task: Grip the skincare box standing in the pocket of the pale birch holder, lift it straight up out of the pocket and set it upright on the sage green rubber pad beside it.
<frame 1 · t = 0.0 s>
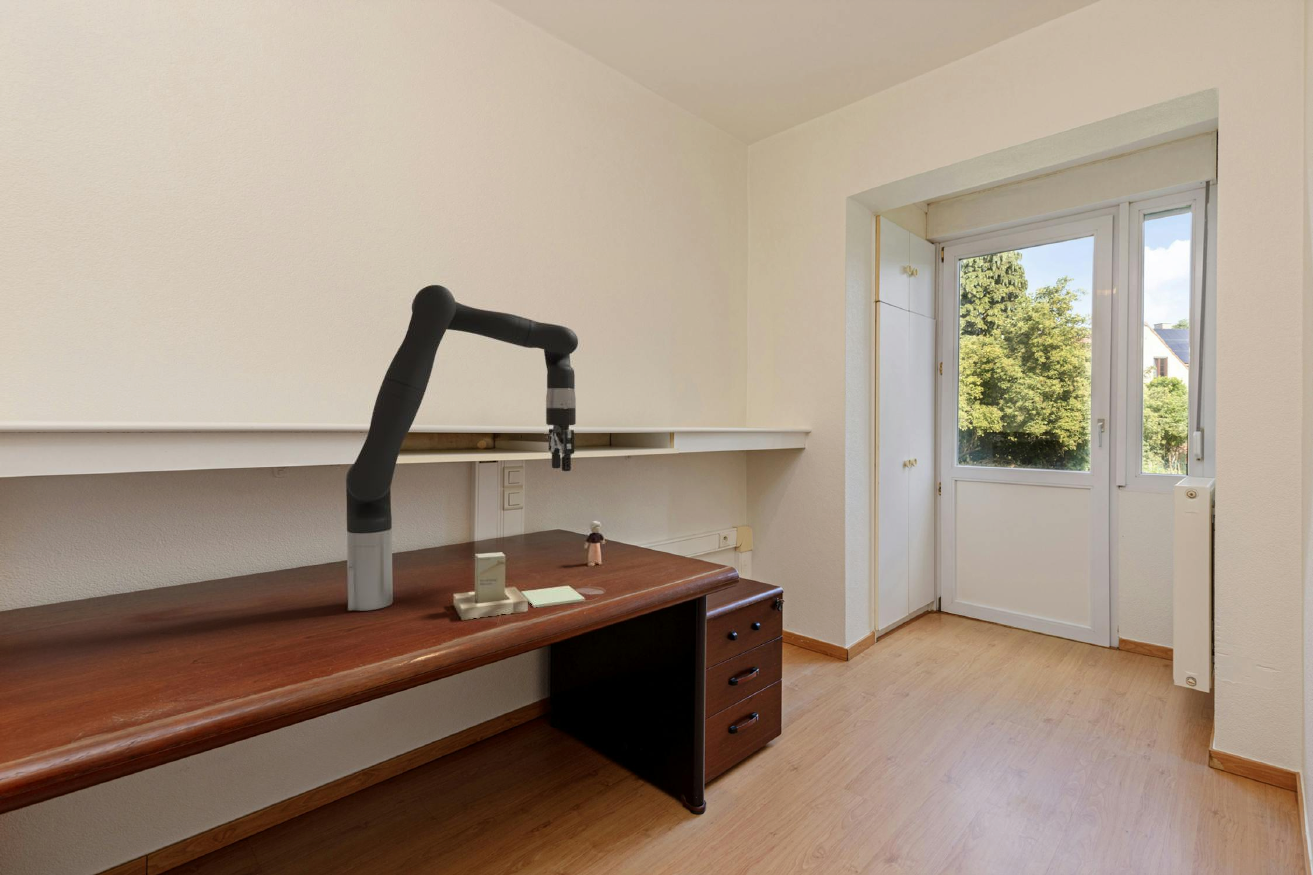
hand: (561, 469, 161), 29 cm above the table, tool pointing down, fingers open, 8 cm apart
grandmother figurine: (595, 564, 182), on the table
pocket holder: (490, 608, 140), on the table
skincare box: (490, 609, 140), resting in pocket holder
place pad: (552, 597, 148), on the table
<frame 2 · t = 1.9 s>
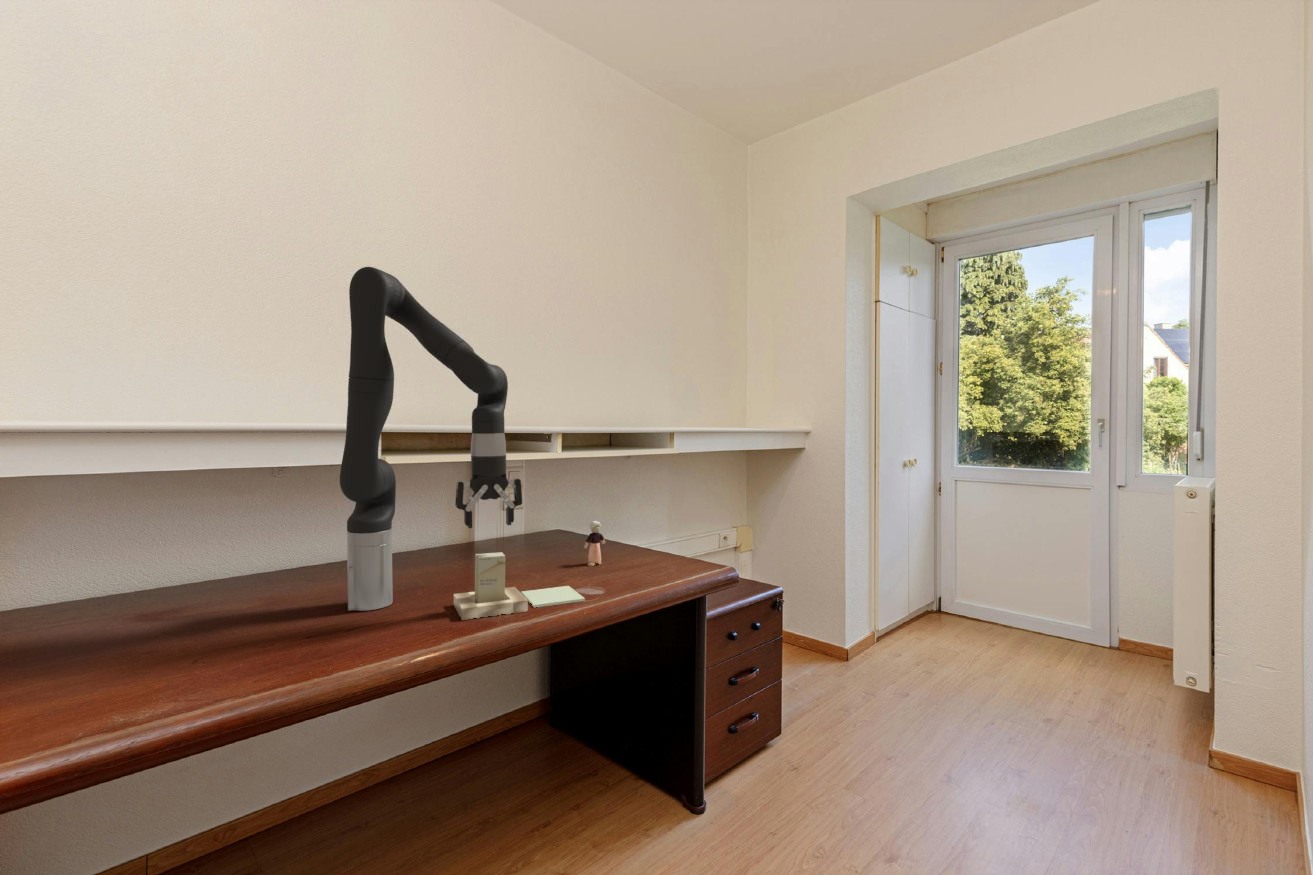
hand: (489, 526, 139), 18 cm above the table, tool pointing down, fingers open, 8 cm apart
nothing on the table moved.
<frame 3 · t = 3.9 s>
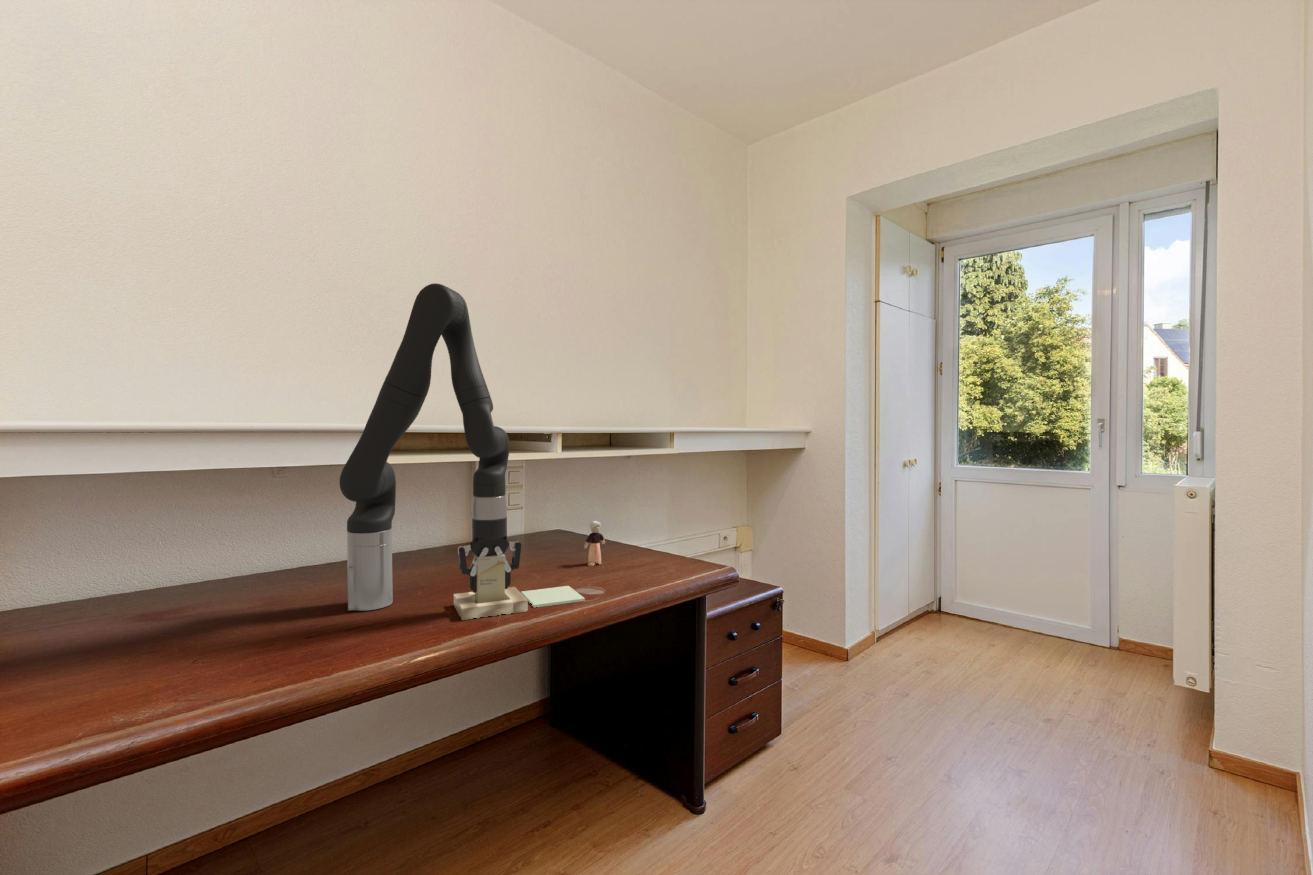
hand: (490, 589, 140), 4 cm above the table, tool pointing down, fingers closed on skincare box, 6 cm apart
skincare box: (490, 609, 140), resting in pocket holder, touching gripper
everything else where it was.
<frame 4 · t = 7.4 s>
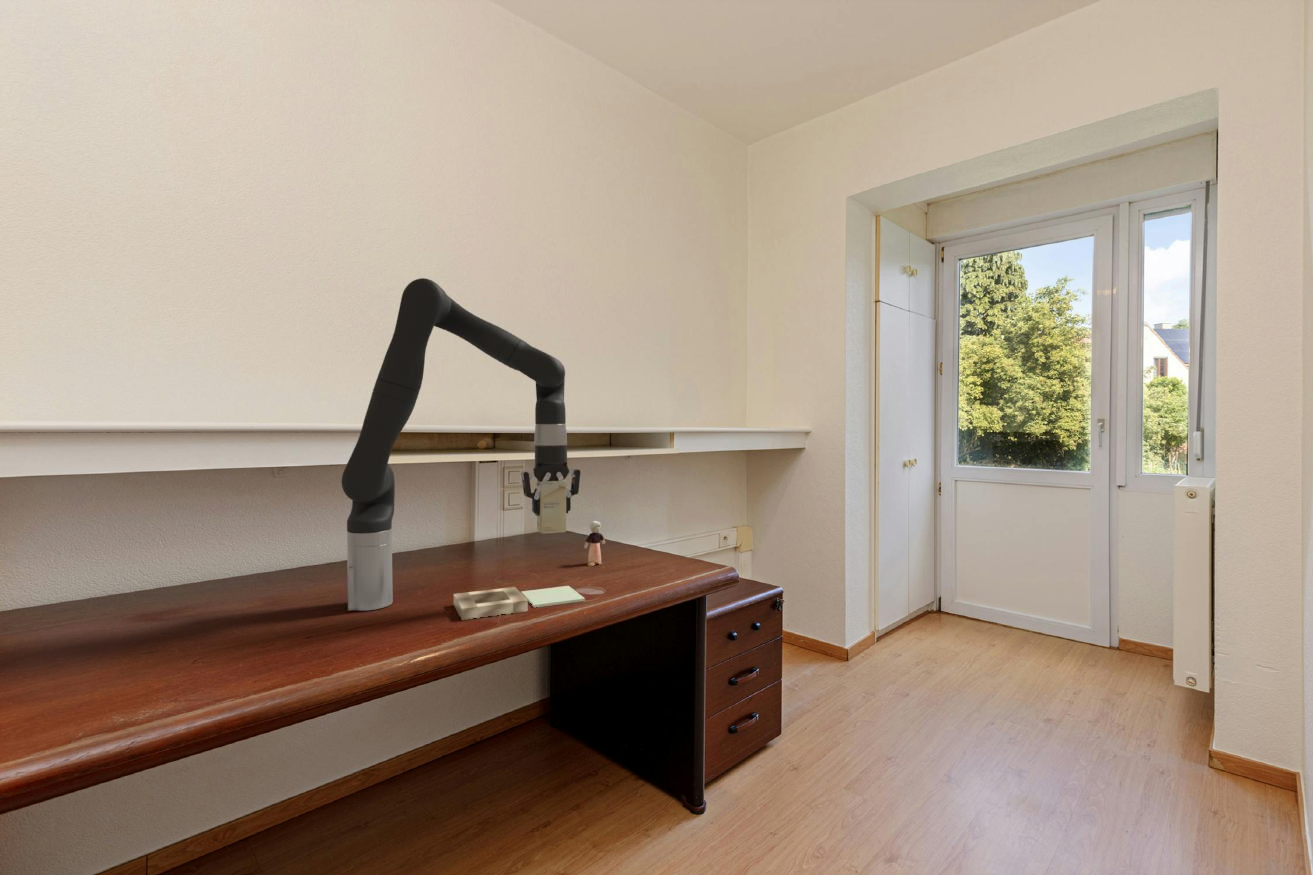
hand: (551, 513, 147), 20 cm above the table, tool pointing down, fingers closed on skincare box, 6 cm apart
skincare box: (551, 532, 147), point 16 cm above the table, touching gripper
everything else where it was.
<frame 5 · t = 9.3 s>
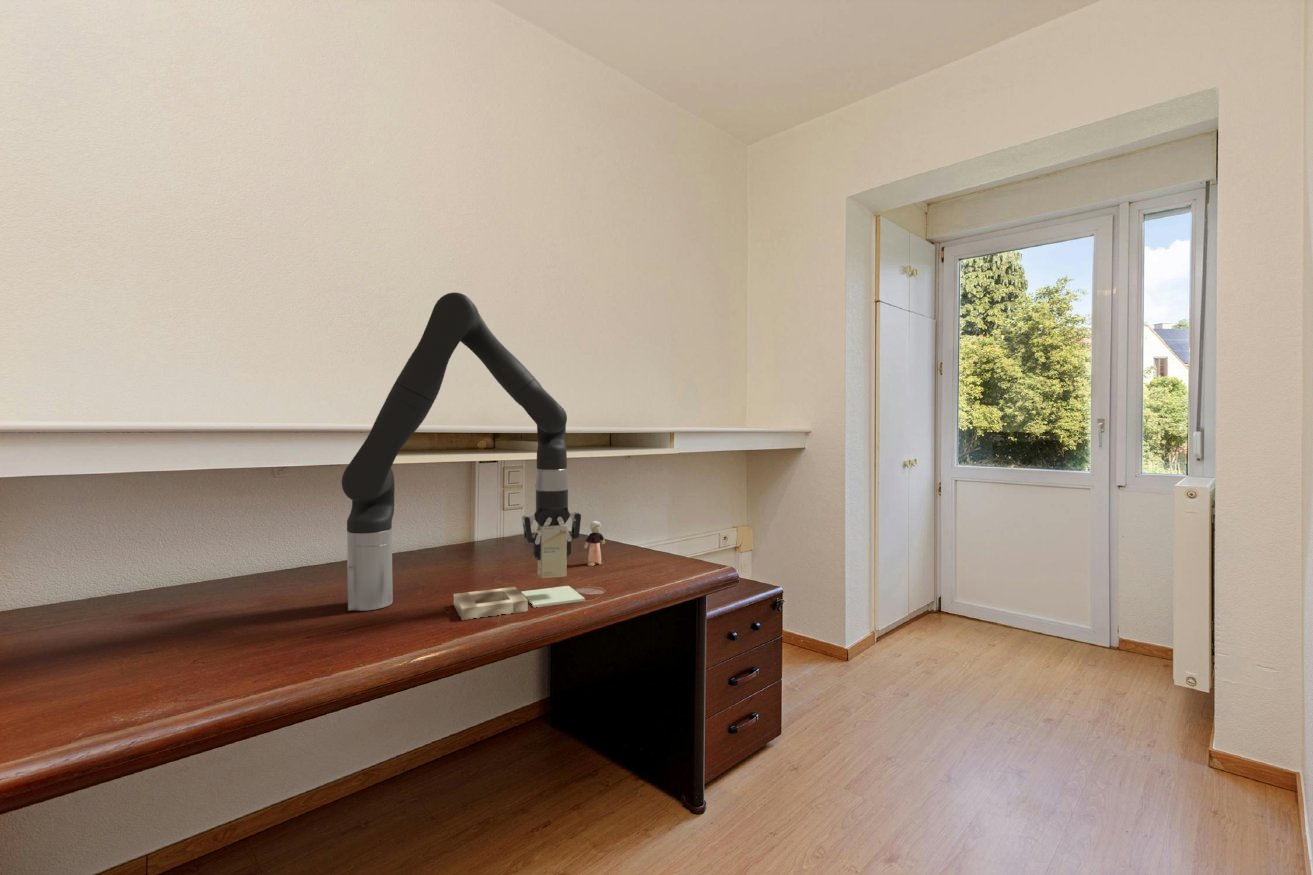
hand: (552, 557, 148), 9 cm above the table, tool pointing down, fingers closed on skincare box, 6 cm apart
skincare box: (552, 576, 148), point 5 cm above the table, touching gripper
everything else where it was.
when the fingers open (6 cm above the table, at t = 11.0 s): skincare box drops 1 cm, resting on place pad.
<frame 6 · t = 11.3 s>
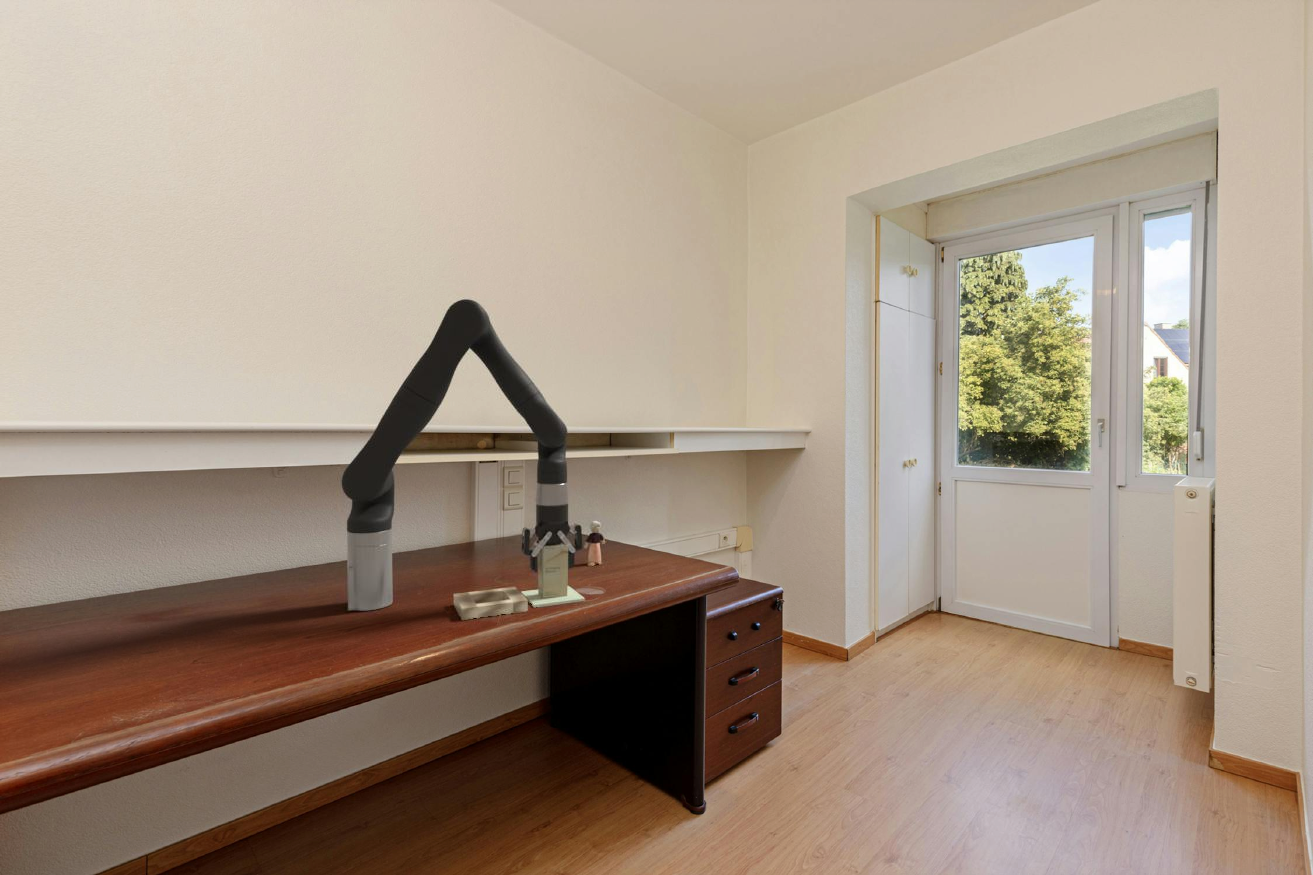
hand: (552, 569, 148), 7 cm above the table, tool pointing down, fingers open, 8 cm apart
skincare box: (553, 595, 148), resting on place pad
everything else where it was.
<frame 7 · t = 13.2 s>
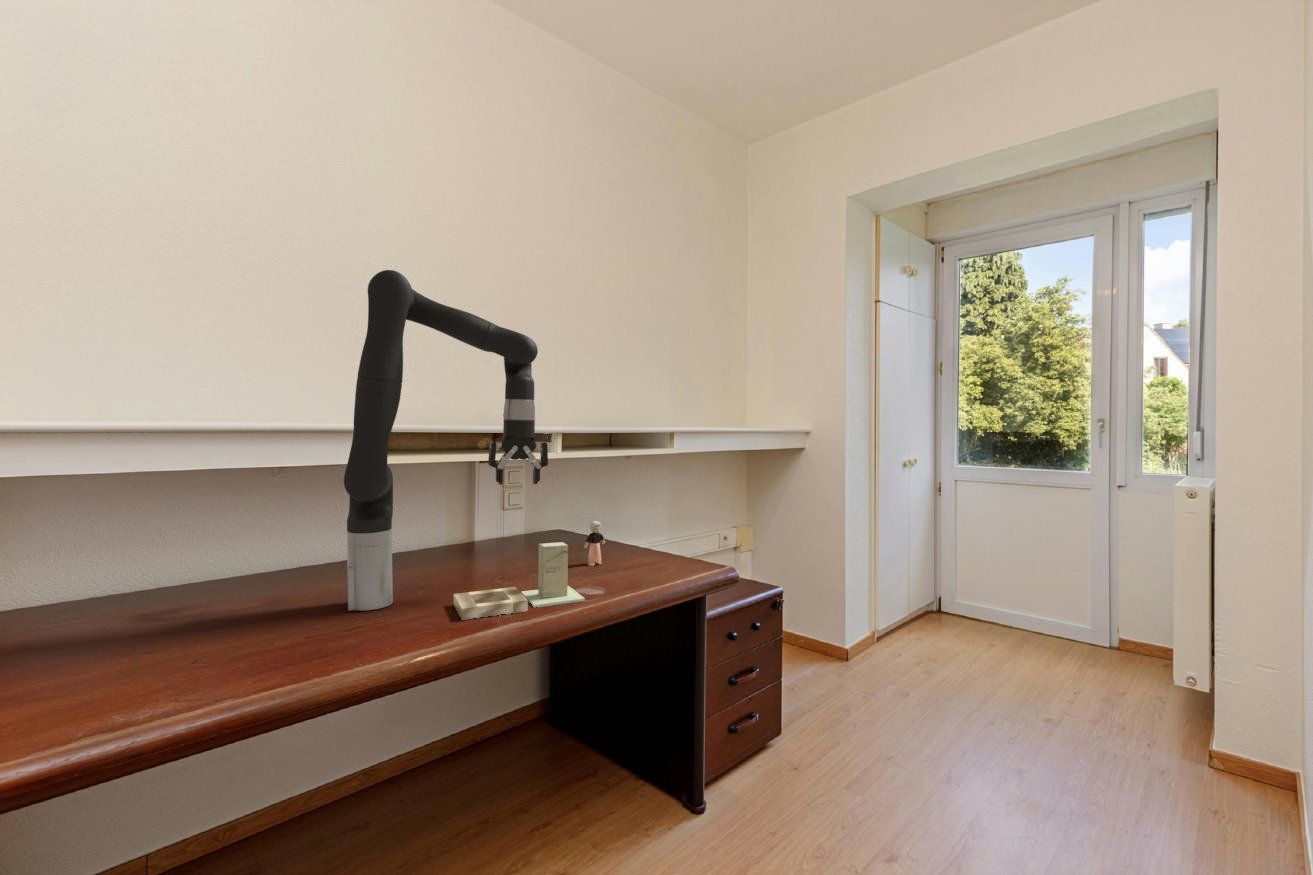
hand: (518, 484, 154), 26 cm above the table, tool pointing down, fingers open, 8 cm apart
nothing on the table moved.
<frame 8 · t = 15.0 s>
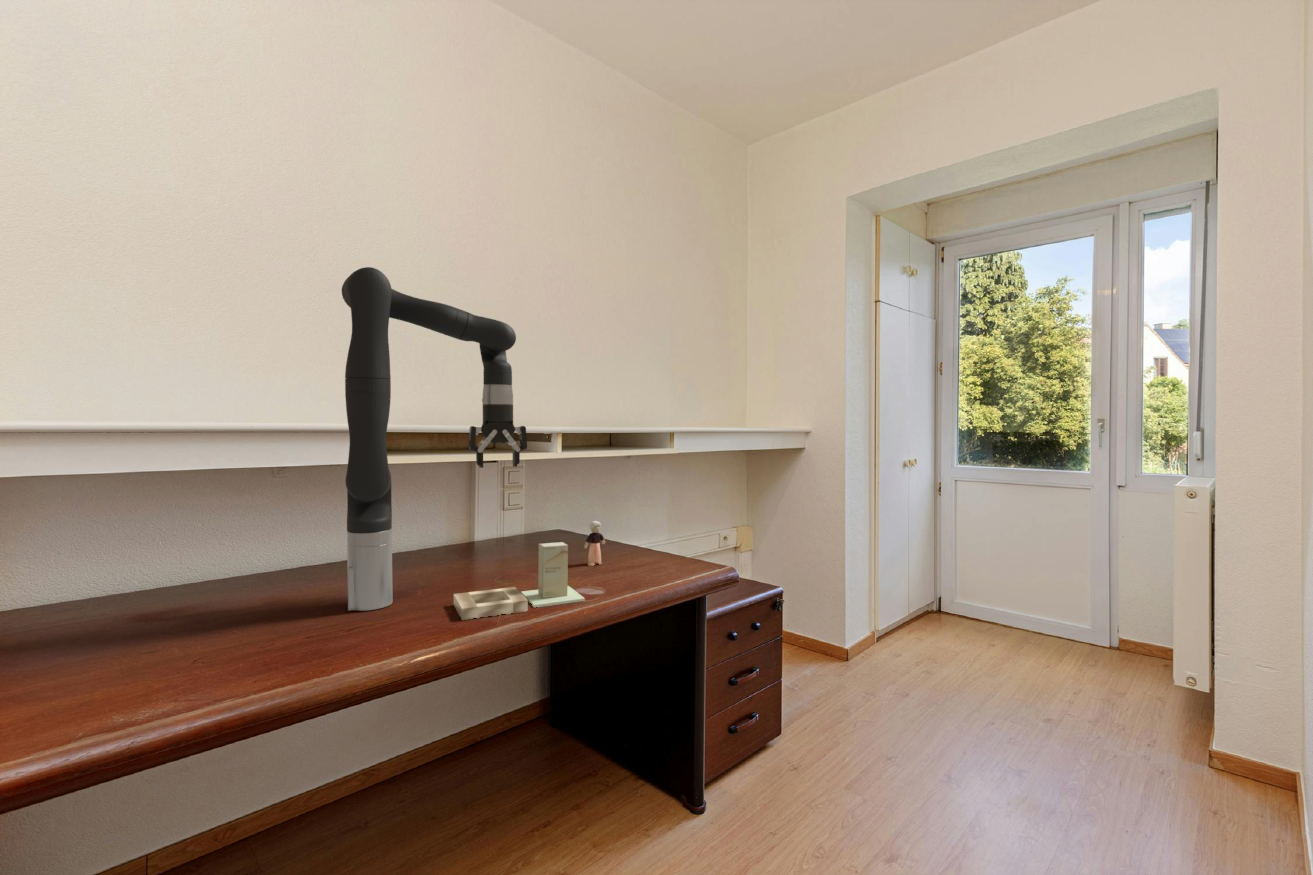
hand: (498, 466, 158), 30 cm above the table, tool pointing down, fingers open, 8 cm apart
nothing on the table moved.
at the end: skincare box inside the target area on the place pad (0.2 cm from its centre), point 0.4 cm above the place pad's base; skincare box tilted 0°; the gripper is holding nothing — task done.
